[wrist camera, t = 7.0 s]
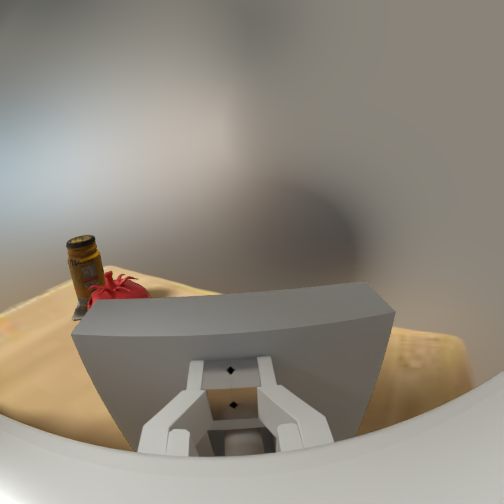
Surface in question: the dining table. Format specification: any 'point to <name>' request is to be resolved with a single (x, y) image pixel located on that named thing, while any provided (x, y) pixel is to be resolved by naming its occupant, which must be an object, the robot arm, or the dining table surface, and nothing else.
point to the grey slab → (238, 352)
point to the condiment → (84, 270)
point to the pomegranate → (117, 289)
